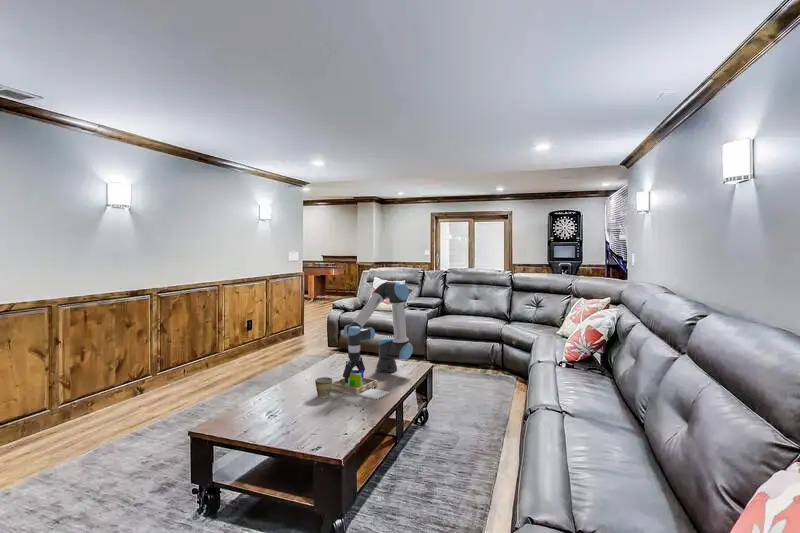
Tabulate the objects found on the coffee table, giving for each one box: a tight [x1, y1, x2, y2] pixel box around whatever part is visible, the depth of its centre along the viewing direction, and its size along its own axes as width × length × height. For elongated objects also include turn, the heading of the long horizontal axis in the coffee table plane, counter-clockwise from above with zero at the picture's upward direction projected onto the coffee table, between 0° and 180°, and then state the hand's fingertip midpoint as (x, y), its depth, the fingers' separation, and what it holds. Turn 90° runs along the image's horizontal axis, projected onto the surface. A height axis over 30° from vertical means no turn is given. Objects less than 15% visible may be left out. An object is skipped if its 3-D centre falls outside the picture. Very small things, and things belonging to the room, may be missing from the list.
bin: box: [331, 376, 378, 396], centre depth 271 cm, size 21×21×4 cm
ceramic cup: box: [314, 376, 333, 399], centre depth 256 cm, size 13×10×10 cm
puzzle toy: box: [343, 369, 365, 388], centre depth 271 cm, size 10×10×10 cm
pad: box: [358, 388, 390, 400], centre depth 258 cm, size 13×13×1 cm
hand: (354, 385), depth 271 cm, fingers open, 13 cm apart
